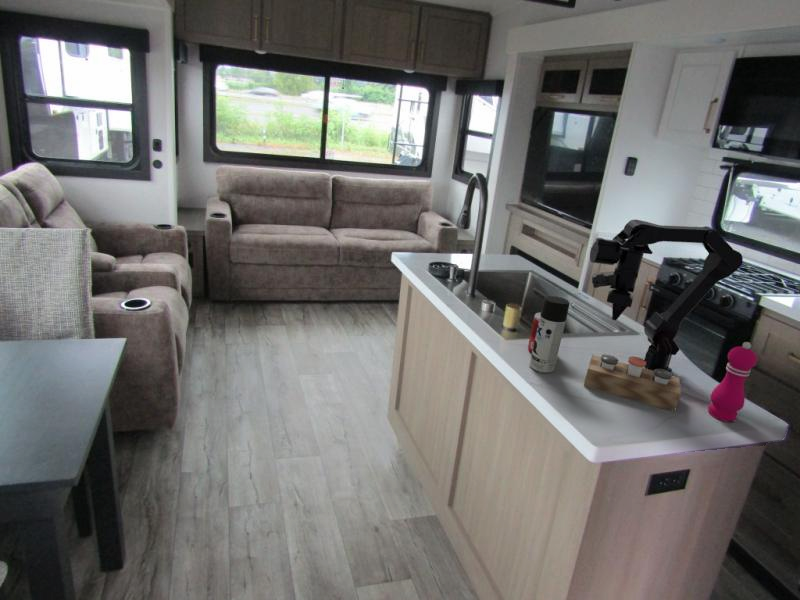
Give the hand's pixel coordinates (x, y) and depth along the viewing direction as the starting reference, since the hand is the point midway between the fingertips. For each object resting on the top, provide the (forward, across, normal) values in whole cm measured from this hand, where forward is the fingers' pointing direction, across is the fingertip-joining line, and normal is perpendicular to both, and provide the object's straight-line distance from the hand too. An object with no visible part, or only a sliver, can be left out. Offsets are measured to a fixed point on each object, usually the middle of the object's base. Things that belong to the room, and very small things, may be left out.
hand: (614, 319), depth 156 cm
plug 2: (+12, +15, +14) cm, 24 cm away
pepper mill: (+13, +14, +30) cm, 35 cm away
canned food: (+13, +6, -17) cm, 22 cm away
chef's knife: (+14, +5, +22) cm, 26 cm away
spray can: (+13, +16, -15) cm, 26 cm away
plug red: (+11, +15, +8) cm, 20 cm away
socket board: (+13, +15, +8) cm, 21 cm away
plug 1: (+12, +15, +1) cm, 19 cm away
